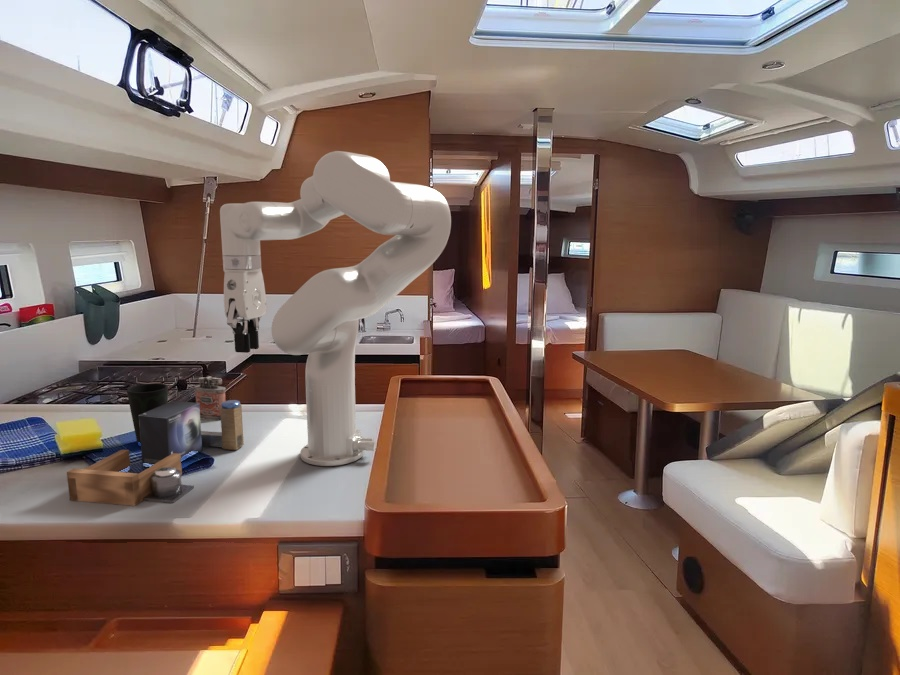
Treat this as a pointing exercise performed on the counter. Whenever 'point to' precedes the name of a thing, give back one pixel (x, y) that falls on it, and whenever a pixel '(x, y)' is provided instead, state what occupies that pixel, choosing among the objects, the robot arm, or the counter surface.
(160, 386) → the cup
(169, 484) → the drum
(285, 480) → the counter surface
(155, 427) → the small box
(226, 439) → the container
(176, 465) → the bay
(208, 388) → the lighter
